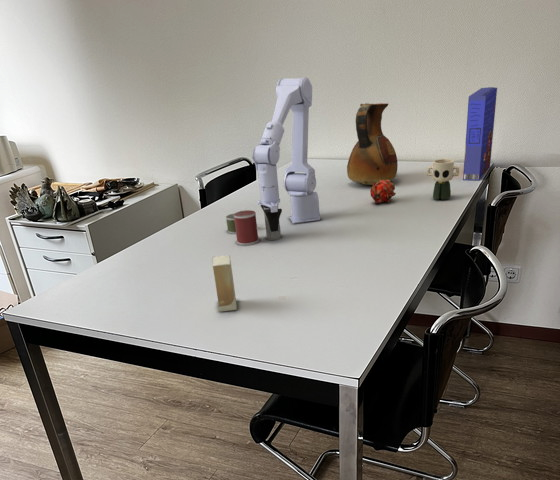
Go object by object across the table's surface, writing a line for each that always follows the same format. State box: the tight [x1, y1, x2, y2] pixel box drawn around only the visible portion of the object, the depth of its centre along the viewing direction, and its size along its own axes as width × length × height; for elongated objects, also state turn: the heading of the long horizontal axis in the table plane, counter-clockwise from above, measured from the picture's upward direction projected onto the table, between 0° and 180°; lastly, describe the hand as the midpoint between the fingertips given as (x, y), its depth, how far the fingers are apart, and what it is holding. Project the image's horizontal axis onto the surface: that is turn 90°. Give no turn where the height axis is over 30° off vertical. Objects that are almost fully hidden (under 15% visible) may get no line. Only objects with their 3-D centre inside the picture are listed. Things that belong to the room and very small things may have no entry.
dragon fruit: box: [369, 179, 396, 205], centre depth 212 cm, size 8×8×12 cm
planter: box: [263, 205, 282, 241], centre depth 188 cm, size 4×4×10 cm
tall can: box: [234, 209, 260, 246], centre depth 187 cm, size 7×7×9 cm
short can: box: [225, 212, 236, 235], centre depth 199 cm, size 7×7×5 cm
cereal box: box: [462, 86, 498, 181], centre depth 229 cm, size 22×6×30 cm, turn 152°
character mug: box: [426, 158, 460, 200], centre depth 208 cm, size 11×7×13 cm, turn 66°
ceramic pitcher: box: [346, 102, 399, 186], centre depth 230 cm, size 20×20×30 cm
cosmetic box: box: [211, 254, 238, 313], centre depth 145 cm, size 6×4×12 cm
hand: (273, 228), depth 189 cm, fingers closed on planter, 4 cm apart
